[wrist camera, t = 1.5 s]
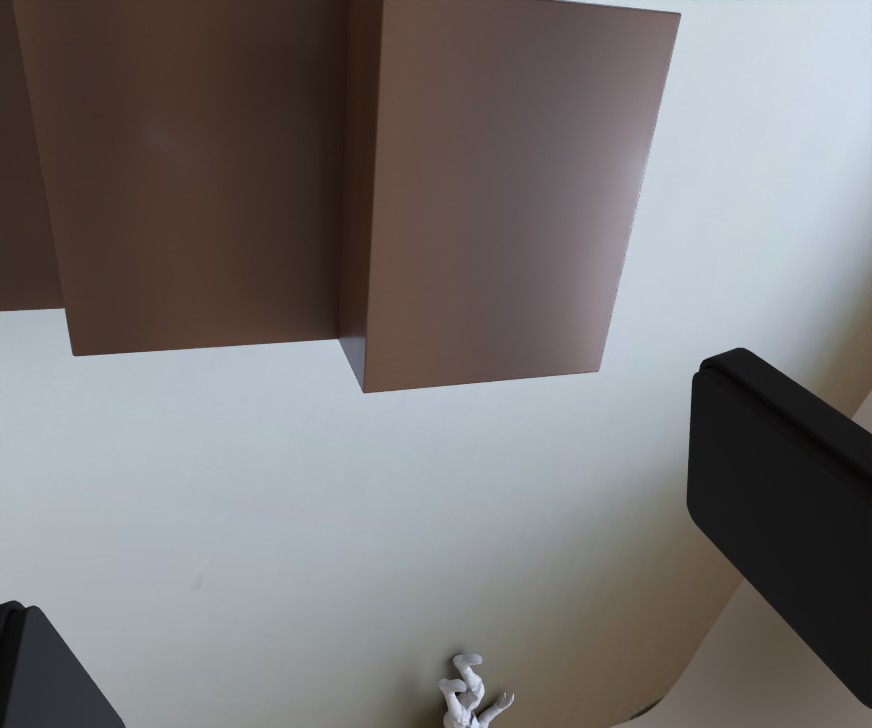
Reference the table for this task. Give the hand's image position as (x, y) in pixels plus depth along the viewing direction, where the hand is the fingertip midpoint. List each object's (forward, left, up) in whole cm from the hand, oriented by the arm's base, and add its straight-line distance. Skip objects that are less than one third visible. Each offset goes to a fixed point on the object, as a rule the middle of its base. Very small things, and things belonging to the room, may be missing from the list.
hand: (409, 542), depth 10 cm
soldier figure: (+14, -40, -24) cm, 48 cm away
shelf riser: (-2, +1, -23) cm, 23 cm away
